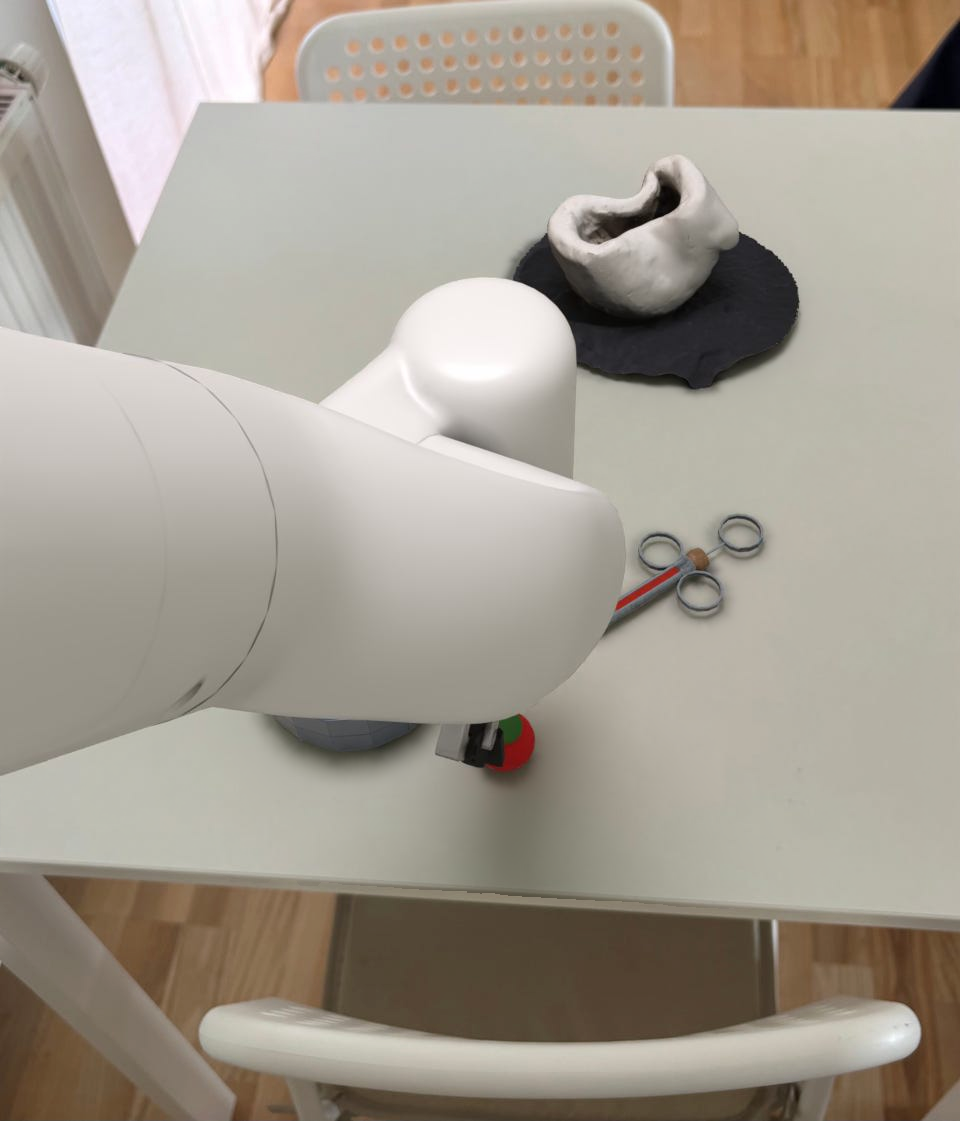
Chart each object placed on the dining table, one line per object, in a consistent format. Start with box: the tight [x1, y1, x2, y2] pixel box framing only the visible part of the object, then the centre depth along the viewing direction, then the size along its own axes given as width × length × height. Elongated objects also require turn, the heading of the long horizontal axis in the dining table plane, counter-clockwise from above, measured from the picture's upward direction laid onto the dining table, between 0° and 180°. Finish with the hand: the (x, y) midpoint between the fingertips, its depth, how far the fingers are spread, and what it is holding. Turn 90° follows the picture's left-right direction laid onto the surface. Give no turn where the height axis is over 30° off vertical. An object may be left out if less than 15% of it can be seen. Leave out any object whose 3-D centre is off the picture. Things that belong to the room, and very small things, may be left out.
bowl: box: [273, 715, 420, 753], centre depth 76 cm, size 13×13×5 cm
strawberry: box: [485, 713, 536, 772], centre depth 72 cm, size 4×4×4 cm
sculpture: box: [512, 153, 801, 390], centre depth 94 cm, size 23×25×13 cm
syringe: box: [607, 513, 764, 628], centre depth 80 cm, size 8×18×2 cm, turn 124°
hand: (503, 685), depth 66 cm, fingers open, 9 cm apart
